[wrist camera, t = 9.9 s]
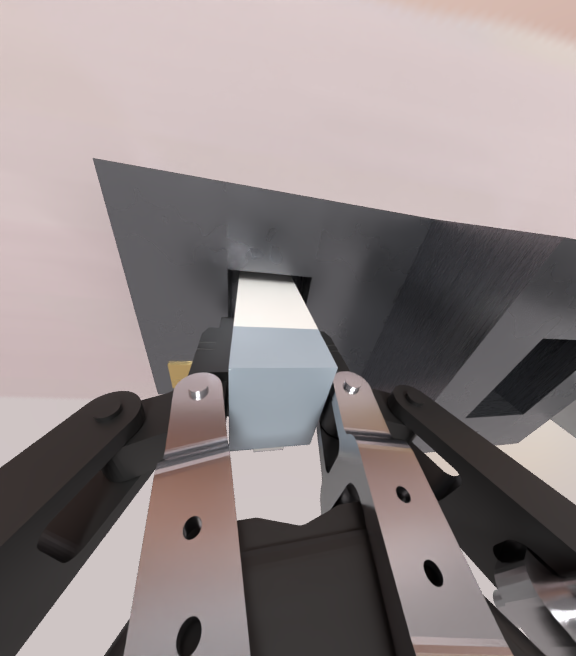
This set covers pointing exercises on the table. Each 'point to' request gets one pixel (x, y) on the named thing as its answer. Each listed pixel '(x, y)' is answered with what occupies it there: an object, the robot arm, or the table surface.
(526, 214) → the table surface
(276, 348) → the plug
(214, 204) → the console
